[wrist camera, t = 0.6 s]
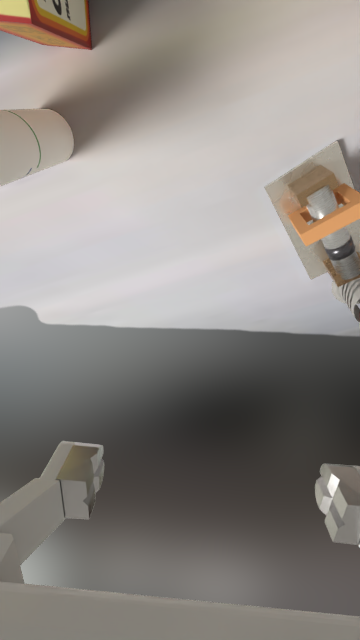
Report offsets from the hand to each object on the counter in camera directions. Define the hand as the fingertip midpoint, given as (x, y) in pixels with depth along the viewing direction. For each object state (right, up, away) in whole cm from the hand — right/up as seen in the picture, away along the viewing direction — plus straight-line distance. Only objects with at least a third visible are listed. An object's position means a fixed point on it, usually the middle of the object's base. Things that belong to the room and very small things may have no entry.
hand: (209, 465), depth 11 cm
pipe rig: (+22, +22, +37) cm, 49 cm away
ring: (+20, +23, +35) cm, 46 cm away
